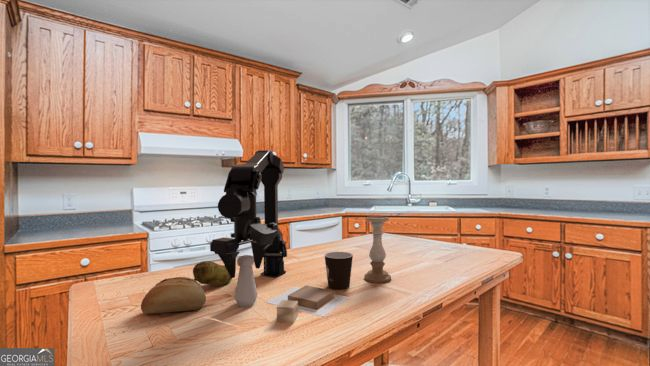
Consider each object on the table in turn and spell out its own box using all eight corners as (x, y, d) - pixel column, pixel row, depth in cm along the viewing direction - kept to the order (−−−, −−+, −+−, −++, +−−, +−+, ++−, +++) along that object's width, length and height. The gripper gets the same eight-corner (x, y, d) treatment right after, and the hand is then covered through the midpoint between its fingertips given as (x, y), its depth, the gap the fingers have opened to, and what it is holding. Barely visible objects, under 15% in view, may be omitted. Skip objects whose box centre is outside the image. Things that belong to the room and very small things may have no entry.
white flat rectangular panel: (265, 303, 83) (265, 302, 83) (295, 287, 95) (295, 286, 95) (324, 318, 74) (324, 316, 74) (349, 298, 87) (349, 296, 87)
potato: (238, 285, 98) (238, 259, 98) (194, 293, 92) (194, 265, 92) (231, 278, 105) (231, 254, 105) (190, 285, 99) (190, 259, 99)
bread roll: (145, 307, 82) (144, 277, 82) (206, 299, 87) (205, 270, 87) (137, 323, 73) (136, 289, 73) (205, 313, 78) (205, 281, 78)
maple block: (276, 324, 72) (276, 306, 72) (282, 316, 76) (281, 300, 76) (293, 325, 71) (293, 307, 71) (298, 317, 75) (298, 301, 75)
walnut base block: (287, 303, 83) (287, 295, 83) (306, 292, 91) (306, 285, 91) (316, 309, 78) (316, 301, 78) (333, 297, 86) (333, 290, 86)
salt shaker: (237, 301, 85) (236, 253, 85) (258, 300, 86) (258, 253, 86) (232, 310, 79) (232, 259, 79) (255, 309, 80) (255, 258, 80)
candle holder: (382, 273, 109) (382, 215, 109) (396, 281, 101) (396, 218, 100) (359, 276, 106) (359, 216, 106) (371, 284, 98) (371, 219, 98)
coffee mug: (351, 293, 90) (351, 259, 90) (322, 291, 92) (321, 257, 92) (355, 280, 102) (355, 250, 102) (329, 279, 104) (329, 249, 103)
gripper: (242, 219, 70) (243, 288, 70) (291, 211, 86) (291, 268, 87) (208, 216, 76) (209, 281, 76) (260, 210, 92) (260, 262, 92)
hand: (245, 272), depth 83 cm, fingers open, 9 cm apart
